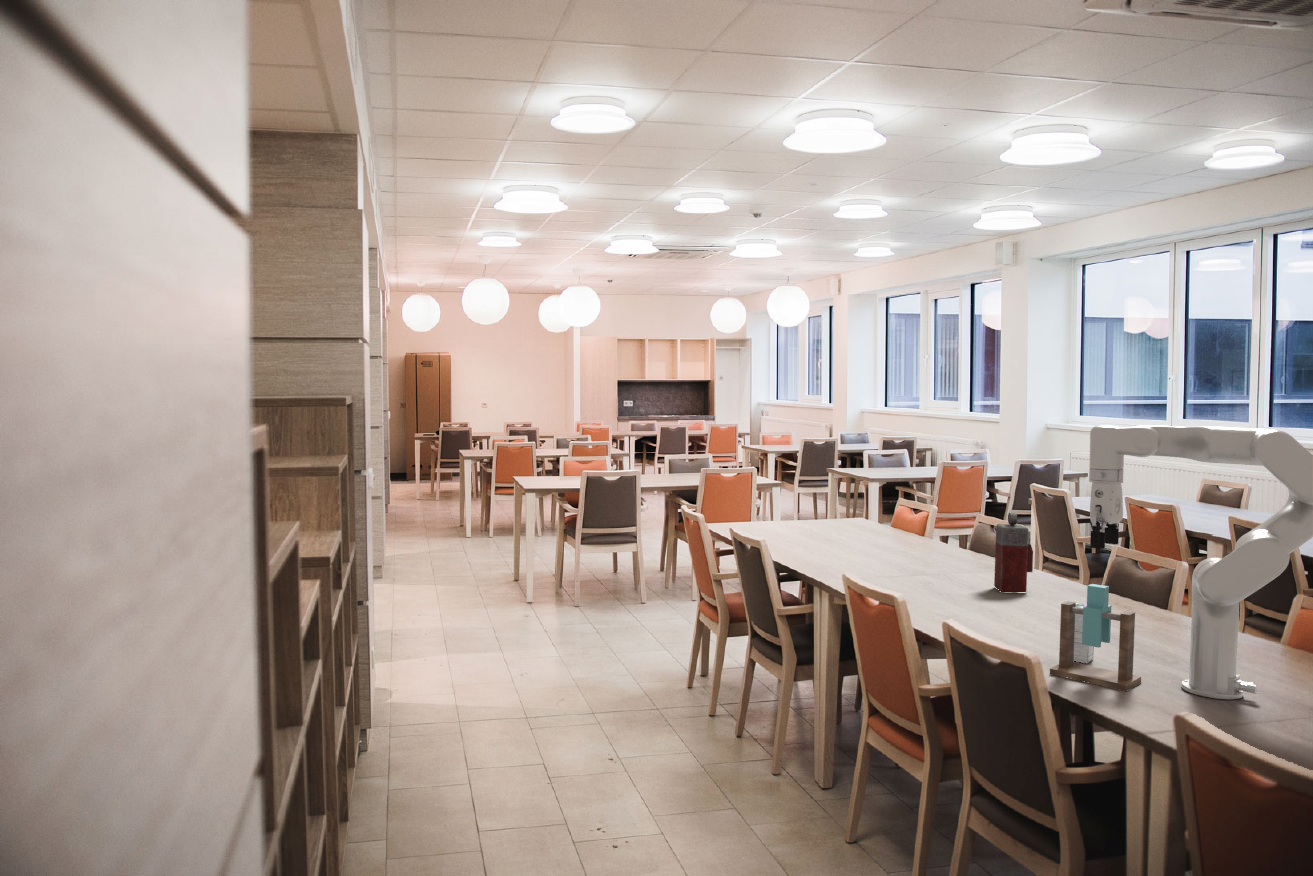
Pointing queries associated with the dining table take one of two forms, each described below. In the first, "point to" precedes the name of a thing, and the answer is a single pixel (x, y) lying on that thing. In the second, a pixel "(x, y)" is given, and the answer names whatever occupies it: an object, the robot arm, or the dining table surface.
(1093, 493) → the robot arm
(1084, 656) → the syrup box
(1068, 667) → the hanger rack
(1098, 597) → the teal block figure
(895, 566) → the dining table surface
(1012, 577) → the dark red lidded canister
